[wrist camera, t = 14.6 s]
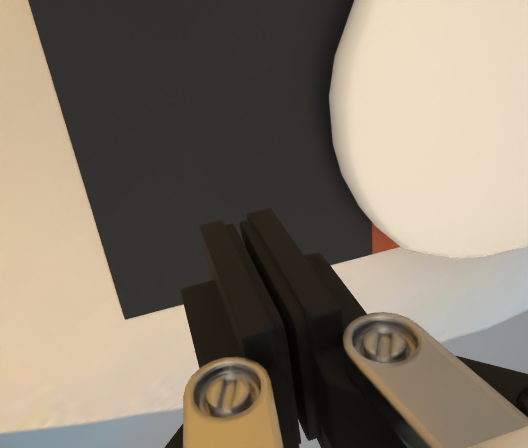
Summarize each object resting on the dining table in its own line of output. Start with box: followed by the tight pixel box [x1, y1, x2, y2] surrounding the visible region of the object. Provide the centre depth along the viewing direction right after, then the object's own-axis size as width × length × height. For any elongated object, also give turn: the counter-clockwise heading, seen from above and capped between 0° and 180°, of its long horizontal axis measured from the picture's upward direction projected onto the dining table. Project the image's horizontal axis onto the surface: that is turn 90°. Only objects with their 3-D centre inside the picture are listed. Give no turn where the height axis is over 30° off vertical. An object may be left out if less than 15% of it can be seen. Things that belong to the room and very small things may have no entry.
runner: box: [28, 0, 400, 319], centre depth 35 cm, size 25×40×1 cm, turn 96°
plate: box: [329, 0, 528, 258], centre depth 34 cm, size 28×6×27 cm
